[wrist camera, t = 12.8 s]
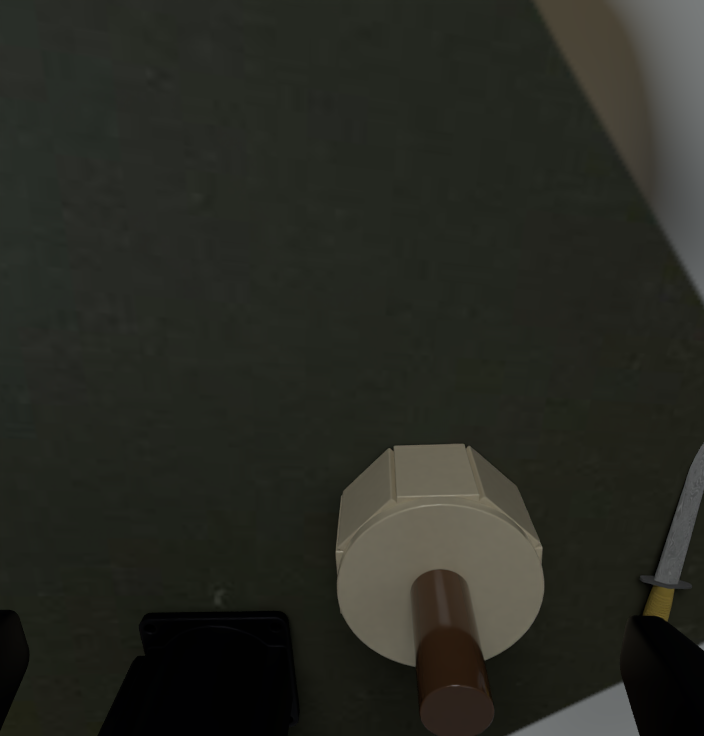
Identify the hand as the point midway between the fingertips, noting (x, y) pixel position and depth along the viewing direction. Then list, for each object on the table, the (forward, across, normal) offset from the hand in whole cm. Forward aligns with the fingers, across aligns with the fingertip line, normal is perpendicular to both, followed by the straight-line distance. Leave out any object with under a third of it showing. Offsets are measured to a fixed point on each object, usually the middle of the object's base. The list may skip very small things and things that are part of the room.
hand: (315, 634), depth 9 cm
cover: (+13, -3, +8) cm, 15 cm away
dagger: (+13, -14, +9) cm, 21 cm away
